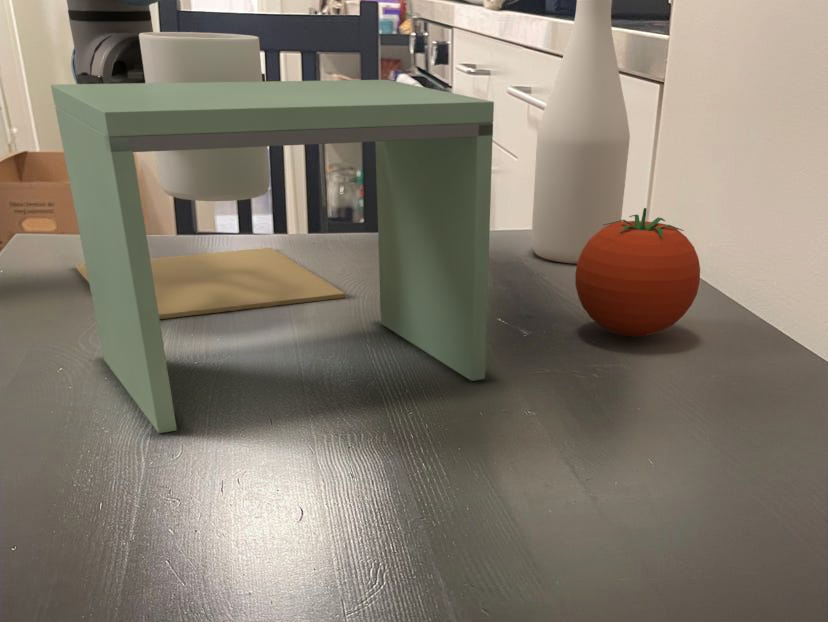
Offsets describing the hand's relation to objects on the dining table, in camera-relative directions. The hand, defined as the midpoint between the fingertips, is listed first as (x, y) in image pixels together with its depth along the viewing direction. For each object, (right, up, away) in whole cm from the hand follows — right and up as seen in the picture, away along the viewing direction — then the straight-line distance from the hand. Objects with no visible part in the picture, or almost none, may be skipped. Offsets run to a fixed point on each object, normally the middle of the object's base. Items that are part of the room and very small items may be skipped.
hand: (218, 112), depth 72 cm
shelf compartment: (+5, -19, +1) cm, 20 cm away
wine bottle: (+30, +3, +34) cm, 45 cm away
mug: (-2, -3, +7) cm, 8 cm away
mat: (-7, -5, +20) cm, 22 cm away
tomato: (+32, -13, +11) cm, 37 cm away
